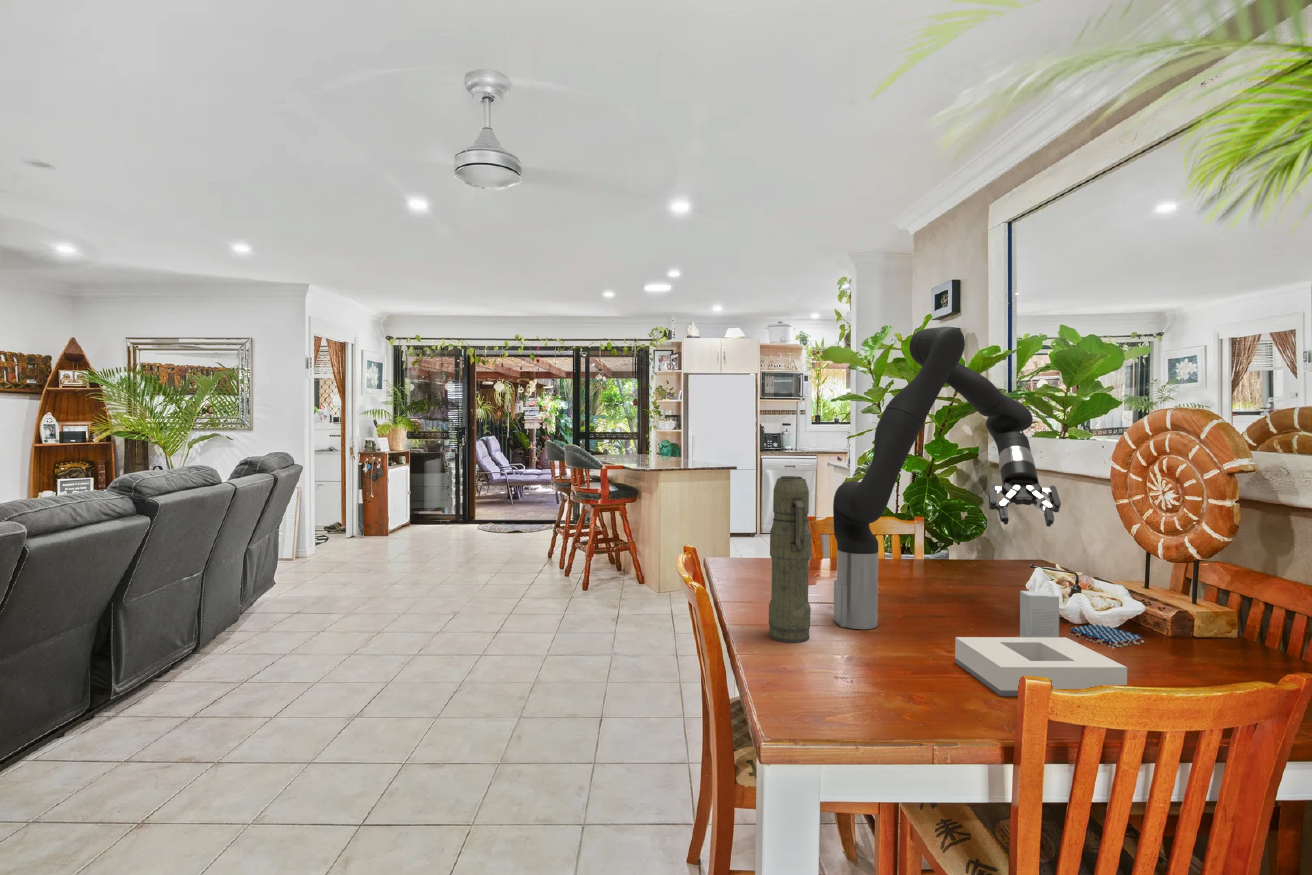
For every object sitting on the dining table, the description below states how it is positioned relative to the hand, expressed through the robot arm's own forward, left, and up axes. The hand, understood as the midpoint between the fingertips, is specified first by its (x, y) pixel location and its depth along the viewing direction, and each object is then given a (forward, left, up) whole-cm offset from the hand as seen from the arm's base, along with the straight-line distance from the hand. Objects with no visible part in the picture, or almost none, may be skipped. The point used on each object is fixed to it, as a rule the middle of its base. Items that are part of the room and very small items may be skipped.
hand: (1027, 523), depth 145 cm
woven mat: (+16, -3, -26) cm, 30 cm away
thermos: (-54, -2, -25) cm, 59 cm away
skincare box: (-4, -11, -25) cm, 28 cm away
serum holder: (-14, -26, -25) cm, 38 cm away
